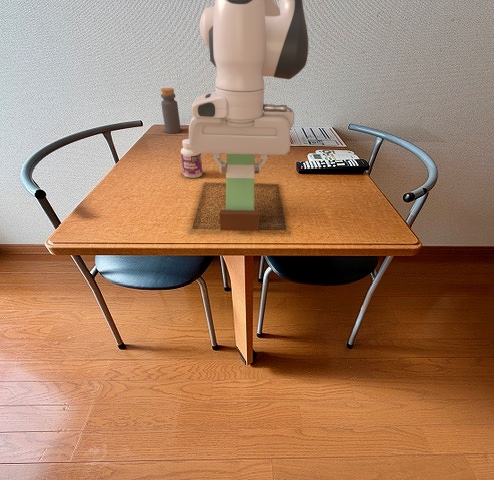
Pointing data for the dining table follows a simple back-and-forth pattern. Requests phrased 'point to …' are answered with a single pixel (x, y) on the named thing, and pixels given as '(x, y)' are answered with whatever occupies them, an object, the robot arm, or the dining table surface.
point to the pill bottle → (190, 161)
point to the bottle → (170, 111)
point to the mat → (240, 213)
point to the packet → (240, 182)
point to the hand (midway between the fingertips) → (240, 172)
